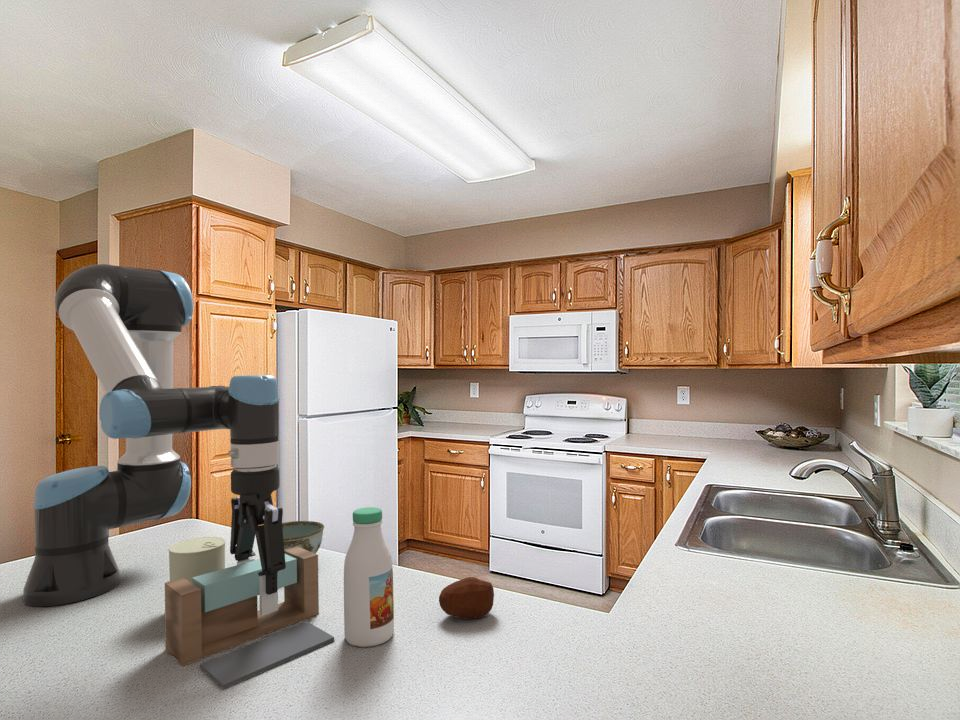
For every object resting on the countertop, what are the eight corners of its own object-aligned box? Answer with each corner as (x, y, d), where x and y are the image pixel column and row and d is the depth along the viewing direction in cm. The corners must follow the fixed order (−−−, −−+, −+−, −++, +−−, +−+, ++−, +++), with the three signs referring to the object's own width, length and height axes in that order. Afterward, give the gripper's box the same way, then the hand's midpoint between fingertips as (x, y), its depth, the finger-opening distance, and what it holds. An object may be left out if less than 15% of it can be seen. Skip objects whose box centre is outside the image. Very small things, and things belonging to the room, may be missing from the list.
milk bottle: (351, 653, 82) (349, 519, 82) (339, 631, 89) (337, 508, 89) (400, 640, 85) (398, 512, 86) (385, 620, 92) (383, 501, 92)
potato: (493, 626, 90) (492, 587, 90) (436, 626, 90) (436, 587, 90) (494, 607, 97) (493, 571, 97) (442, 607, 97) (441, 571, 97)
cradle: (165, 649, 84) (164, 582, 84) (298, 602, 100) (297, 546, 100) (182, 666, 79) (181, 595, 79) (318, 613, 95) (317, 554, 96)
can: (203, 622, 93) (202, 551, 93) (156, 618, 95) (155, 549, 95) (237, 599, 102) (236, 535, 102) (194, 596, 104) (193, 533, 104)
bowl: (313, 577, 112) (312, 538, 112) (248, 578, 112) (247, 539, 113) (332, 554, 126) (331, 519, 126) (273, 555, 126) (273, 520, 126)
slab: (192, 603, 86) (192, 577, 86) (282, 575, 97) (282, 552, 97) (205, 612, 83) (204, 585, 83) (296, 582, 94) (296, 558, 94)
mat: (199, 667, 79) (199, 663, 79) (307, 625, 91) (307, 621, 91) (223, 689, 73) (223, 684, 73) (334, 640, 86) (334, 637, 86)
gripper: (207, 464, 95) (209, 595, 95) (262, 478, 82) (264, 632, 81) (249, 458, 101) (251, 582, 101) (307, 470, 87) (310, 615, 87)
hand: (257, 605), depth 91 cm, fingers open, 8 cm apart
